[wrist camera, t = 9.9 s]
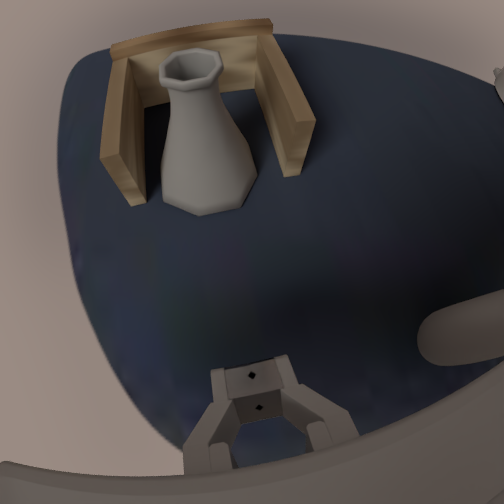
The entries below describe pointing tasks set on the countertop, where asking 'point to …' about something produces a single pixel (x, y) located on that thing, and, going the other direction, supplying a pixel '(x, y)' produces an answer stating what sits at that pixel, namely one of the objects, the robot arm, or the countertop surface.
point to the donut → (464, 331)
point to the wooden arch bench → (231, 79)
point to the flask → (202, 138)
